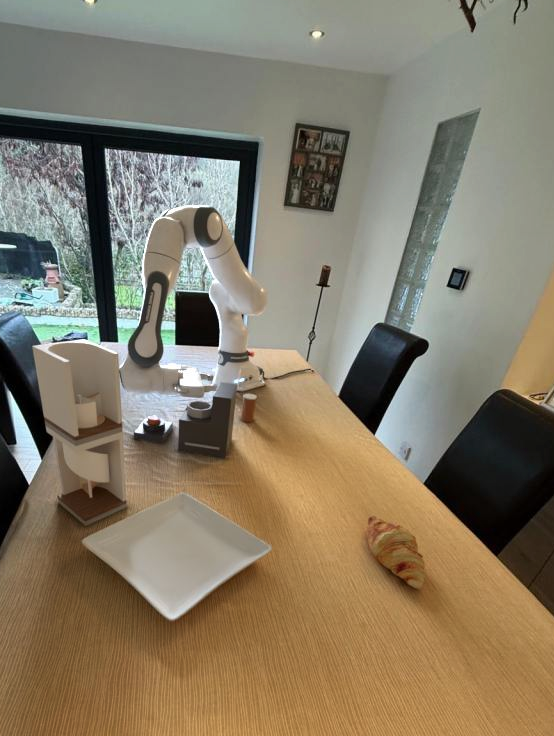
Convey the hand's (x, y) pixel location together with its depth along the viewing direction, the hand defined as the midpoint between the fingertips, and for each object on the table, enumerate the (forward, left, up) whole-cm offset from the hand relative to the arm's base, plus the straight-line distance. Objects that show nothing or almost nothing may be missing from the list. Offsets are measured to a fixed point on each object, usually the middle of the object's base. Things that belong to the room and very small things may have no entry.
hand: (215, 382), depth 134 cm
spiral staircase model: (+53, +28, -13) cm, 62 cm away
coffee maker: (+13, +15, -13) cm, 24 cm away
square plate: (+45, +53, -13) cm, 71 cm away
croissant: (+6, +76, -13) cm, 78 cm away
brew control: (+23, +1, -13) cm, 26 cm away
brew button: (+23, +1, -9) cm, 25 cm away
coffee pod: (-11, +5, -13) cm, 18 cm away
